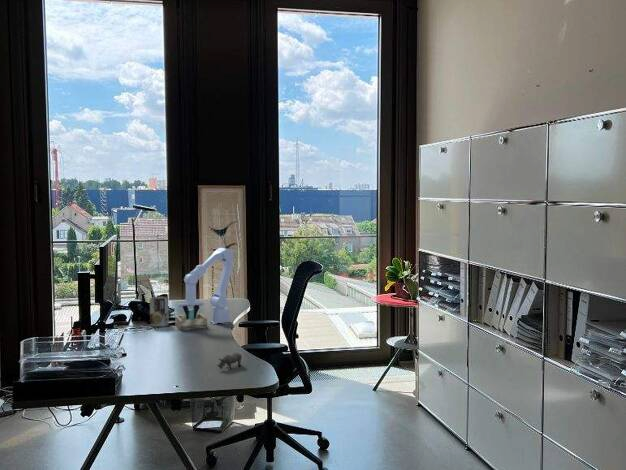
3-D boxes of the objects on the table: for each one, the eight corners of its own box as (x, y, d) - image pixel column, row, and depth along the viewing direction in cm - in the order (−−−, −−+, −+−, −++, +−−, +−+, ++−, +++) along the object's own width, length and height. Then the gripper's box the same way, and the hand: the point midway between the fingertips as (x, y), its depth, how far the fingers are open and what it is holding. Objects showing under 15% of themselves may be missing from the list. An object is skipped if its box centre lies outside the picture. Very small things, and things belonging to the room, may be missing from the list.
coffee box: (169, 324, 338) (168, 296, 337) (165, 326, 331) (165, 298, 330) (153, 323, 339) (153, 296, 338) (149, 326, 332) (149, 298, 331)
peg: (193, 321, 335) (193, 309, 334) (194, 322, 331) (194, 310, 331) (187, 321, 333) (187, 309, 332) (188, 323, 330) (188, 310, 329)
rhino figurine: (213, 370, 251) (213, 356, 250) (238, 363, 261) (238, 350, 260) (219, 372, 248) (219, 358, 247) (244, 365, 258) (244, 352, 258)
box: (201, 322, 342) (201, 313, 342) (207, 328, 329) (207, 318, 328) (175, 324, 336) (175, 315, 336) (180, 330, 323) (180, 320, 322)
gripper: (179, 297, 325) (179, 321, 325) (205, 295, 330) (205, 319, 331) (176, 295, 331) (177, 318, 332) (202, 293, 337) (202, 316, 338)
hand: (190, 318), depth 332 cm, fingers closed on peg, 4 cm apart
